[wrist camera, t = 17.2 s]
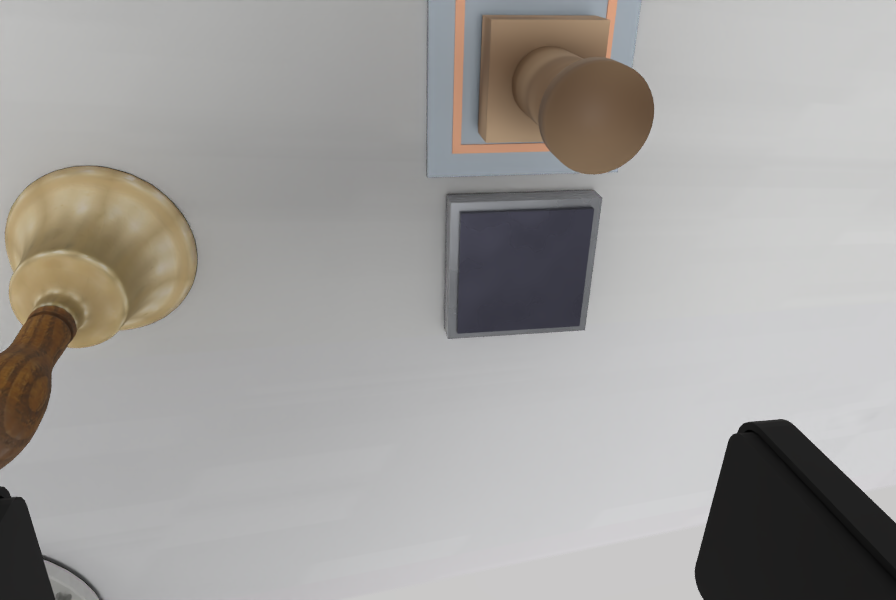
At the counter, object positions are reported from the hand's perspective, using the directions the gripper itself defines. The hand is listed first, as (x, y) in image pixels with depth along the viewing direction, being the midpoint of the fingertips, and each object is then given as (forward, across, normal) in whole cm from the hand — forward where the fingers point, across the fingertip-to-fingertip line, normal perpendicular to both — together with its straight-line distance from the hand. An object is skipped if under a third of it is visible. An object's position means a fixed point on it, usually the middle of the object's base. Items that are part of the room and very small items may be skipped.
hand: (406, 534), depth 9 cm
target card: (+25, -9, -3) cm, 26 cm away
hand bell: (+26, +11, +6) cm, 29 cm away
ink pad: (+25, -9, +7) cm, 27 cm away
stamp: (+24, -9, -3) cm, 26 cm away
